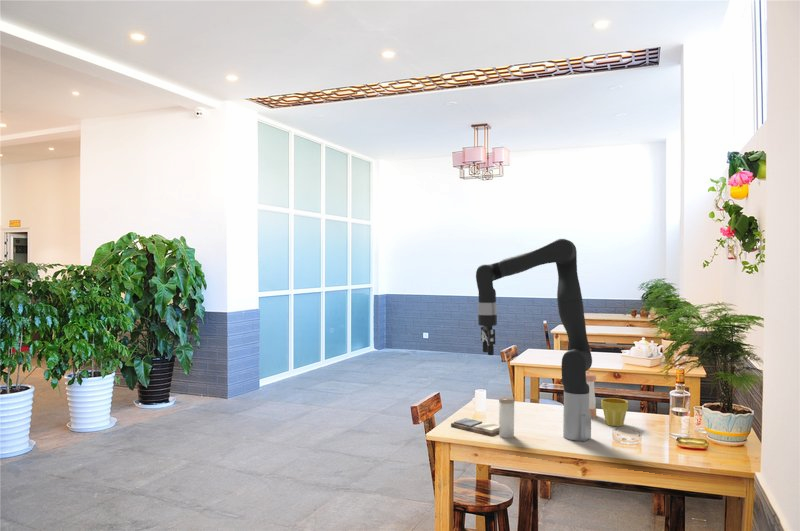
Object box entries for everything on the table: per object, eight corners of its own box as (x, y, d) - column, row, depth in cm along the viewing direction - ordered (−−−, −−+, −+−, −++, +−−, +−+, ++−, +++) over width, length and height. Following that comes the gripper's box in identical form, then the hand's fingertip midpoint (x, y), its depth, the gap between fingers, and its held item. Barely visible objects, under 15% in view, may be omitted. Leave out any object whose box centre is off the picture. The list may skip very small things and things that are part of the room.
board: (505, 430, 227) (505, 425, 227) (491, 436, 219) (491, 431, 219) (465, 421, 239) (465, 417, 239) (450, 426, 232) (451, 422, 232)
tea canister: (517, 435, 220) (517, 398, 220) (509, 439, 216) (509, 401, 216) (503, 432, 224) (504, 396, 224) (495, 436, 220) (496, 399, 219)
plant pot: (601, 420, 244) (601, 396, 244) (627, 422, 240) (627, 398, 240) (601, 426, 234) (601, 402, 234) (628, 429, 230) (628, 404, 230)
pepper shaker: (594, 413, 254) (594, 369, 254) (598, 417, 247) (598, 373, 247) (577, 413, 255) (577, 369, 255) (580, 417, 247) (580, 372, 247)
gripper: (501, 314, 229) (501, 355, 228) (492, 312, 243) (492, 351, 243) (482, 315, 228) (483, 356, 228) (474, 312, 242) (475, 351, 242)
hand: (488, 353), depth 235 cm, fingers open, 8 cm apart
